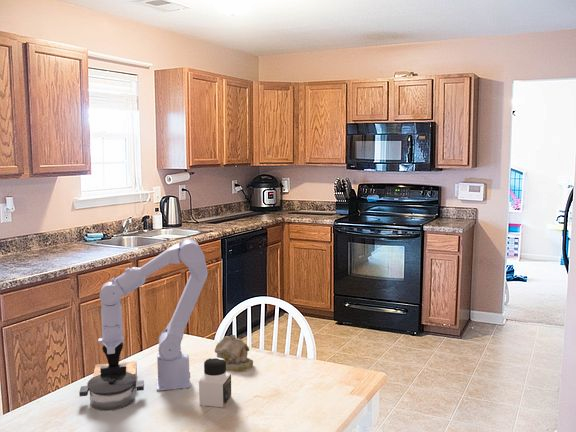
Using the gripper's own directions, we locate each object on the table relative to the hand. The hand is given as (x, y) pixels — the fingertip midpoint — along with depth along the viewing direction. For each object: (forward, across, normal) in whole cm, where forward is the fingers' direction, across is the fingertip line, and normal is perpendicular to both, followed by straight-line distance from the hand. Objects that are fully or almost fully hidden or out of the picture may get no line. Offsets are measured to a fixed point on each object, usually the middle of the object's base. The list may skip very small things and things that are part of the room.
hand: (113, 368), depth 161 cm
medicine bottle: (+7, +14, +28) cm, 32 cm away
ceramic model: (+7, -11, +37) cm, 39 cm away
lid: (+2, +7, 0) cm, 7 cm away
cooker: (+6, +2, 0) cm, 7 cm away
